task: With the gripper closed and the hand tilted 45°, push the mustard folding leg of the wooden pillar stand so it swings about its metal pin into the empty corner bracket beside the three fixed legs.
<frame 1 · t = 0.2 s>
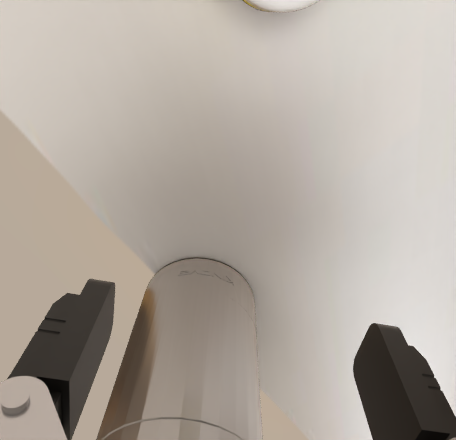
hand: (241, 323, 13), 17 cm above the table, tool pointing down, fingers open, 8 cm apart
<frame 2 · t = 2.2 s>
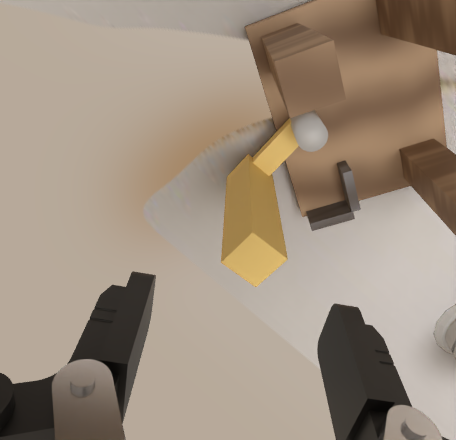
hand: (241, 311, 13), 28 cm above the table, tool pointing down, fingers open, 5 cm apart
wooden pillar stand: (349, 101, 37), on the table
hinged leg: (281, 180, 31), point 9 cm above the table, hinge at -60.0°
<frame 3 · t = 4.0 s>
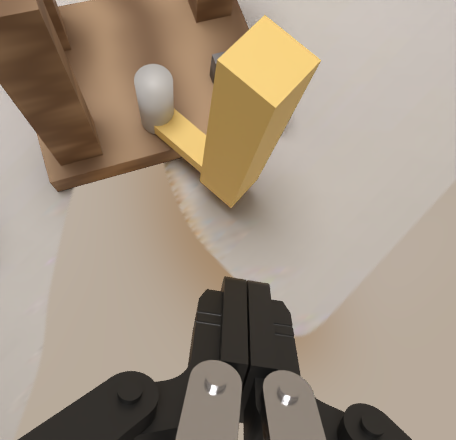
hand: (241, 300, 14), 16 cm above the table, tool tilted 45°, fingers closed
wooden pillar stand: (148, 83, 33), on the table
hinged leg: (198, 100, 23), point 9 cm above the table, hinge at -60.0°
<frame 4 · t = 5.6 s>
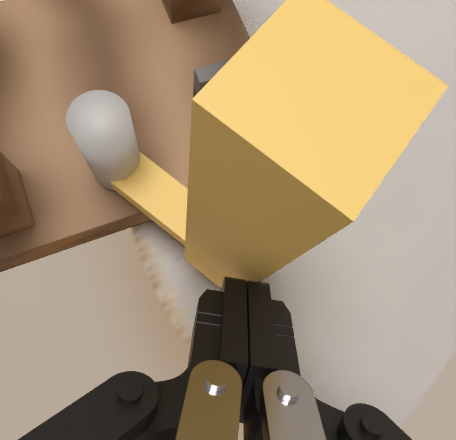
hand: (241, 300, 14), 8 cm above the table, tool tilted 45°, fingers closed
wooden pillar stand: (107, 111, 24), on the table
hinged leg: (171, 152, 13), point 9 cm above the table, hinge at -59.4°, touching gripper
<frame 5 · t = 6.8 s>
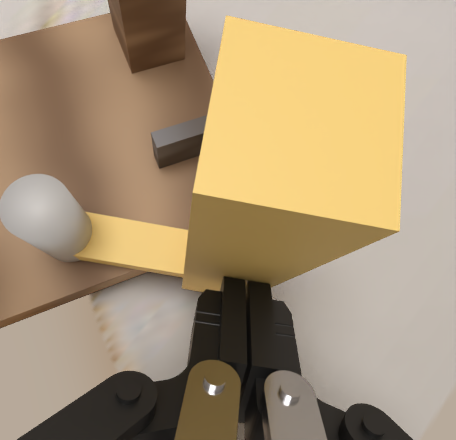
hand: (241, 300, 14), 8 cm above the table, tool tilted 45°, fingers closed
wooden pillar stand: (65, 166, 22), on the table
hinged leg: (133, 208, 13), point 9 cm above the table, hinge at -31.2°, touching gripper
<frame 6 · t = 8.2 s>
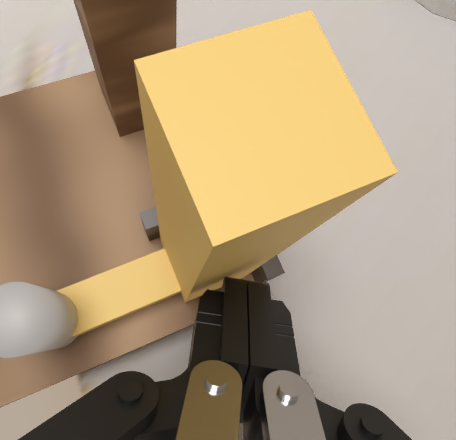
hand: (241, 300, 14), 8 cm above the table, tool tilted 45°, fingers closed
wooden pillar stand: (50, 234, 21), on the table
hinged leg: (113, 267, 12), point 9 cm above the table, hinge at 0.5°, touching gripper
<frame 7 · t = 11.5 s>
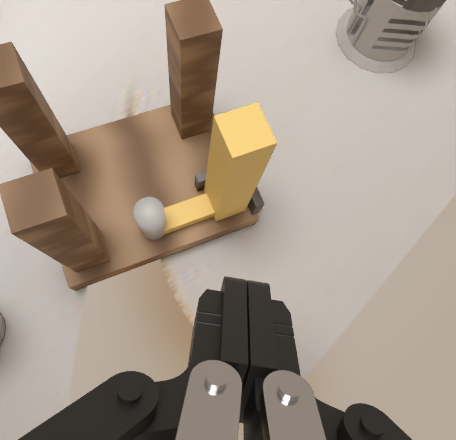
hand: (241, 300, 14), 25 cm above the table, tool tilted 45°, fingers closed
french press: (368, 40, 48), on the table
wooden pillar stand: (144, 190, 40), on the table
hinged leg: (192, 187, 31), point 9 cm above the table, hinge at 0.3°
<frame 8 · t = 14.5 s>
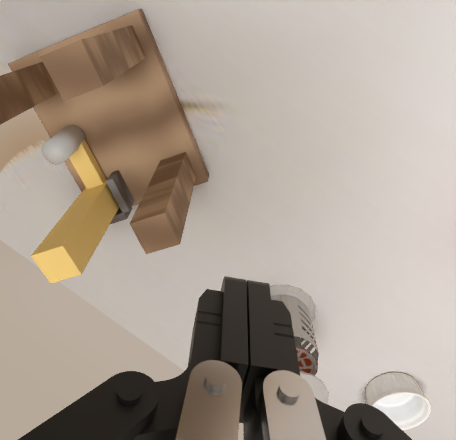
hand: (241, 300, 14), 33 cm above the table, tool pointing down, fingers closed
french press: (278, 307, 57), on the table
wooden pillar stand: (119, 121, 44), on the table
ramekin: (390, 387, 64), on the table
hinged leg: (66, 194, 38), point 9 cm above the table, hinge at 0.3°
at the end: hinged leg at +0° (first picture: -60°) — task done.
